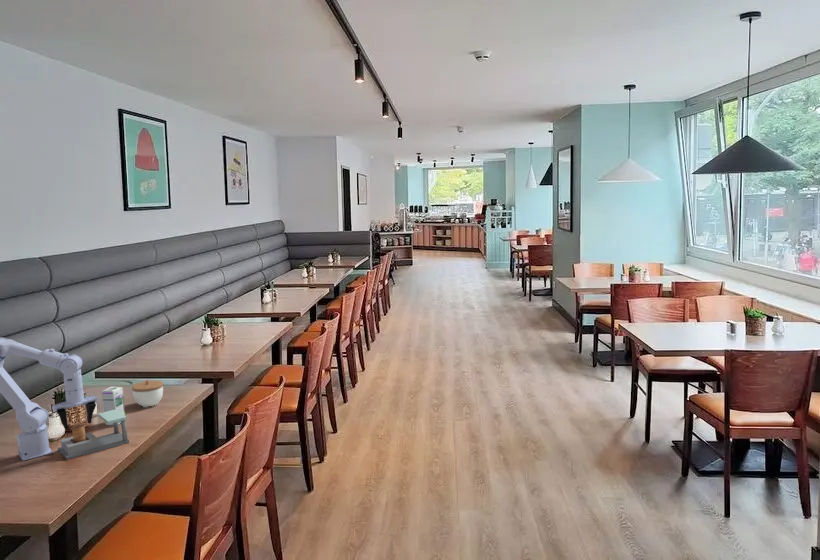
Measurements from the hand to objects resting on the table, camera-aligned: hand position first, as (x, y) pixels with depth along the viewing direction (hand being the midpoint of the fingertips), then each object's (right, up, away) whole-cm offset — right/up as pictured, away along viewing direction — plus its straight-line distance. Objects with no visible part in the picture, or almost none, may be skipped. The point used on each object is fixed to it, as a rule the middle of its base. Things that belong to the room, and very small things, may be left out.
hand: (77, 425), depth 225 cm
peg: (0, -8, +1) cm, 8 cm away
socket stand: (+4, -9, +4) cm, 10 cm away
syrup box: (0, -6, +28) cm, 29 cm away
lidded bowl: (+5, -3, +49) cm, 50 cm away
